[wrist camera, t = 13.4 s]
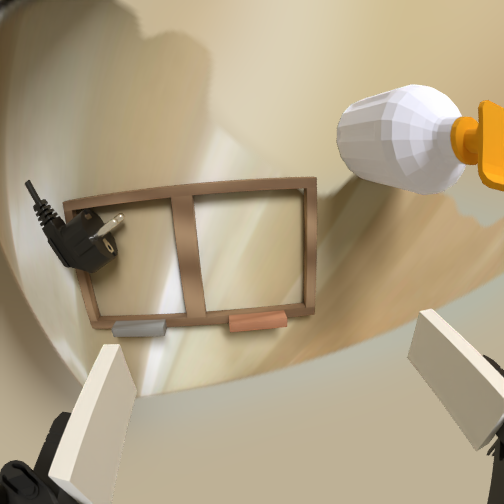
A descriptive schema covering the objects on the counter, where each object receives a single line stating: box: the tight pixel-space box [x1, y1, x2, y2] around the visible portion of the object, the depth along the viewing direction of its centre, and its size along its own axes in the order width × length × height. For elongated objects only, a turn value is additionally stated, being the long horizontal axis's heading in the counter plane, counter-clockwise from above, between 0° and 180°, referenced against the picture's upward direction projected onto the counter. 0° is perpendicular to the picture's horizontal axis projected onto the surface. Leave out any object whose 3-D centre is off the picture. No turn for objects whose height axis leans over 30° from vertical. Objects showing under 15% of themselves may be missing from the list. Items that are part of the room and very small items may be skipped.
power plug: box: [25, 180, 125, 273], centre depth 25 cm, size 6×8×12 cm
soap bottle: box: [337, 85, 504, 195], centre depth 17 cm, size 9×9×25 cm
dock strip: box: [63, 177, 317, 337], centre depth 29 cm, size 15×26×3 cm, turn 93°
